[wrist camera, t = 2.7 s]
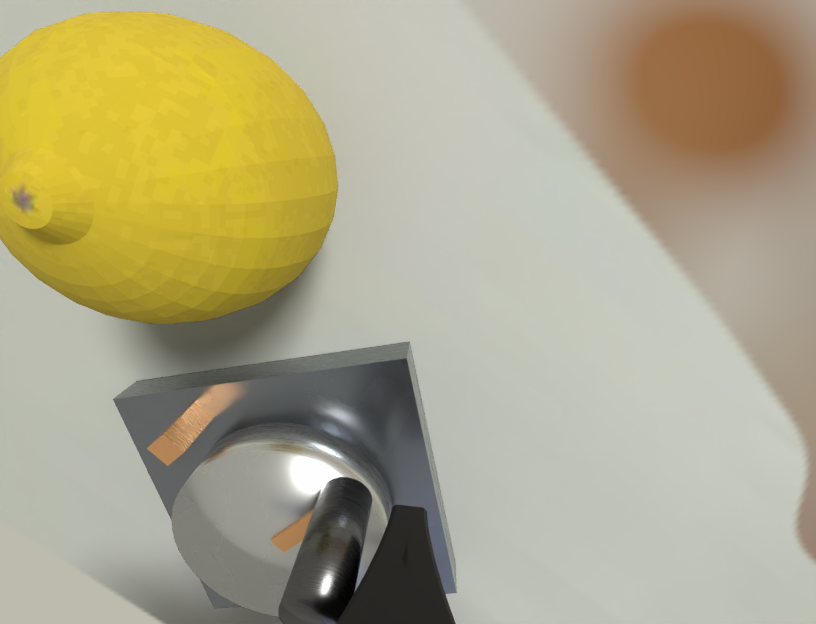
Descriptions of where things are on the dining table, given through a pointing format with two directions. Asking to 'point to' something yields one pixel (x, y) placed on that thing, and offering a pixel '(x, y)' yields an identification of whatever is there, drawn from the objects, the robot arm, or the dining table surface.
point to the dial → (283, 520)
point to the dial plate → (301, 404)
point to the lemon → (159, 167)
